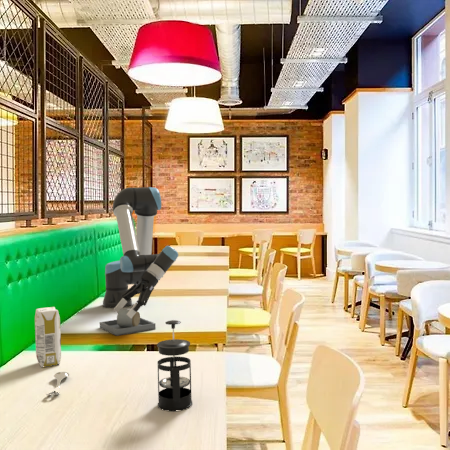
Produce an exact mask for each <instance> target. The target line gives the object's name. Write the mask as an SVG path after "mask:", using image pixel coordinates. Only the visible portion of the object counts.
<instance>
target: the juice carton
mask: <svg viewBox="0 0 450 450" xmlns="http://www.w3.org/2000/svg"><path fill="white" fill-rule="evenodd" d="M59 313H60V312H59V310H58V309H56V307H55V306H50V307H48V306H47V307H40V308H36V309H35V315H34V330H35V331H34V335H35V338H34V339H35V355H36V360H37V363H38V364H39V365H40V368H44V367H43V366H49V367H52V366H51V365H55V366H58V365H57V364H61V360H62V344H61V343H62V339H61V337H62V335H61V317H60V314H59Z"/></svg>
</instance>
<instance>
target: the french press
mask: <svg viewBox="0 0 450 450" xmlns="http://www.w3.org/2000/svg"><path fill="white" fill-rule="evenodd" d="M181 323H182V321H180V320H176V319H175V320H174V319H171V320H167V321H165V324H166V325H169V326H170V325H171V329H172V339H166V340H161V341H159V342H157V344H156V346H157V348H158V354H160V355H162V356H168V357H164V358H160V359H158V361H157V388H158V390H157V392H158V394H157V395H158V397H157V399H158V403H157V407H158V409H160V410H162V409H163V410H162V411H165V410H169V411H168V412H177V411H176V410H181V411H184V410H183V409H185V410H187V409H186V408H188V409H189V407H190V406H191V405H192V406H193V400H192V372H191V371H192V369H191V368H192V364H191V359H190V358H188V357H184V356H181V355H184V354H187V353H189V346H190V345H191V342H190V341H189V340H186V339H179V338H177V339H176V338H175V329H176V325H180V324H181ZM177 362H183V363H185V364H182V365H177ZM166 363H169V365H163V364H166ZM187 369H189V378H188V377H184V376H181V375H180V371H185V370H187ZM159 371H162V372H163V371H164V372H169V374H170V376H168V377H164V378H162V379H160V372H159ZM187 386H189V388H187ZM160 387H161V388H163V389H161V390H160ZM192 406H191V407H192ZM191 407H190V408H191Z"/></svg>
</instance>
